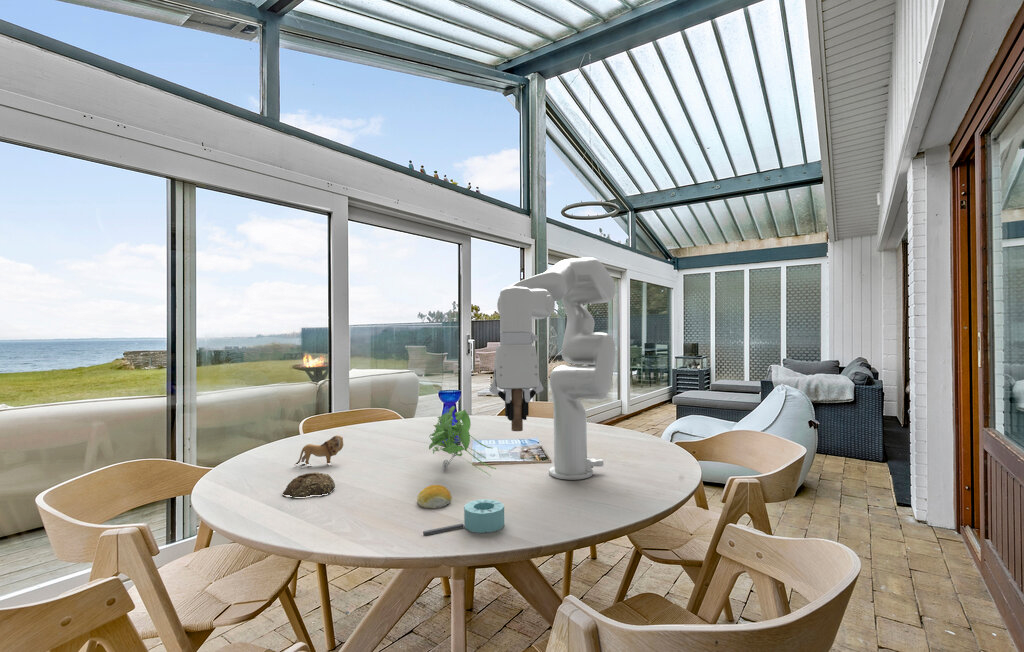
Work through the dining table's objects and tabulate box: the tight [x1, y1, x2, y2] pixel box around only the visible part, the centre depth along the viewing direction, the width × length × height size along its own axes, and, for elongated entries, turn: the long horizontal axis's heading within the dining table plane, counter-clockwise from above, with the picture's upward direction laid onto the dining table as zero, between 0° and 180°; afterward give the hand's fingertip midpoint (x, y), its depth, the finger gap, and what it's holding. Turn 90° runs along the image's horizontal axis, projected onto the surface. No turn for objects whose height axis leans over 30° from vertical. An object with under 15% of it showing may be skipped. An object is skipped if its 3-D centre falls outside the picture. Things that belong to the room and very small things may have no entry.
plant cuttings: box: [428, 405, 497, 476], centre depth 148 cm, size 35×17×22 cm
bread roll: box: [416, 484, 453, 509], centre depth 120 cm, size 8×9×4 cm
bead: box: [463, 498, 505, 534], centre depth 105 cm, size 8×8×4 cm
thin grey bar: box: [422, 523, 465, 536], centre depth 102 cm, size 9×1×1 cm, turn 117°
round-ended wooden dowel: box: [511, 389, 524, 432], centre depth 113 cm, size 3×3×12 cm
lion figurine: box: [295, 435, 345, 465], centre depth 155 cm, size 15×5×9 cm, turn 105°
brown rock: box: [282, 472, 336, 498], centre depth 130 cm, size 13×12×5 cm
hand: (516, 418), depth 113 cm, fingers closed on round-ended wooden dowel, 2 cm apart
